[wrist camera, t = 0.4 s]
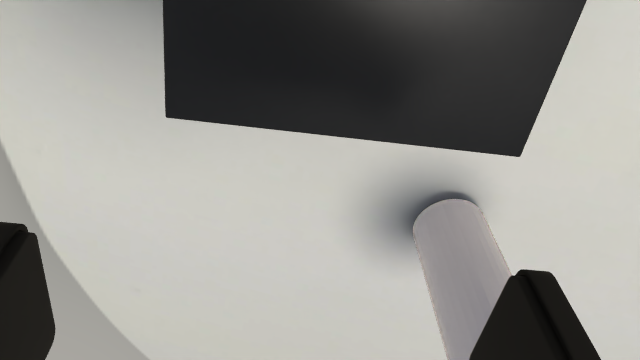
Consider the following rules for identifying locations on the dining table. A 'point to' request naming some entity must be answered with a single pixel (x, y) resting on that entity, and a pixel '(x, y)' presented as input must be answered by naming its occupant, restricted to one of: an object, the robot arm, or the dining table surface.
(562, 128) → the dining table surface
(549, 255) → the dining table surface
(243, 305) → the dining table surface
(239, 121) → the cabinet
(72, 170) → the dining table surface
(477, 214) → the perfume bottle
